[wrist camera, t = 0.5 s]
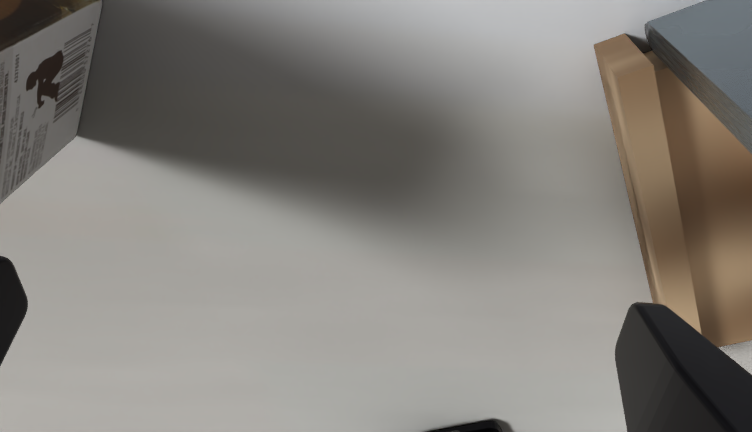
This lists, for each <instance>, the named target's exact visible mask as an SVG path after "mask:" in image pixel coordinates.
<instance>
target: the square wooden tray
mask: <svg viewBox="0 0 752 432" xmlns="http://www.w3.org/2000/svg"><path fill="white" fill-rule="evenodd" d="M594 49H595V53H596V57H597V62H598V66H599V70H600V75H601V79H602V83H603V88H604V92H605V96H606V101H607V105H608V109H609V114H610V118H611V122H612V127H613V131H614V135H615V140H616V144H617V148H618V153H619V157H620V161H621V166H622V170H623V174H624V179H625V183H626V187H627V192H628V196H629V200H630V205H631V209H632V213H633V218H634V222H635V226H636V231H637V235H638V239H639V244H640V248H641V252H642V257H643V261H644V265H645V270H646V274H647V278H648V283H649V287H650V291H651V296H652V300H653V303H656V304H663V305H665V306H667V307H668V308H670V309H671V310H672V311H673V312H675V313H676V314H677V315H678V316H679V317H681V318H682V319H683V320H684V321H686V322H687V323H688V324H689V325H691V326H692V327H693V328H694V329H696V330H697V331H698V332H699V333H700V334H702V335H703V336H704V337H705V338H707V339H708V340H709V341H710V342H712V343H713V344H714V345H715V346H717V347H721V346H726V345H731V344H735V343H740V342H745V341H750V340H752V154H751V153H750V152H749V151H748V150H747V149H746V148H745V147H744V146H743V145H742V144H741V143H740V142H739V141H738V140H737V139H736V137H735V136H734V135H733V134H732V133H731V132H730V131H729V130H728V129H727V128H726V127H725V126H724V125H723V124H722V123H721V122H720V121H719V120H718V119H717V118H716V117H715V116H714V115H713V114H712V113H711V112H710V111H709V110H708V108H707V107H706V106H705V105H704V104H703V103H702V102H701V101H700V100H699V99H698V98H697V97H696V96H695V95H694V94H693V93H692V92H691V91H690V90H689V89H688V88H687V87H686V86H685V85H684V84H683V83H682V82H681V81H680V80H679V78H678V77H677V76H676V75H675V74H674V73H673V72H672V71H671V70H670V69H669V68H668V67H667V66H666V65H665V64H664V63H663V62H662V61H661V60H660V59H659V58H658V57H657V56H656V55H655V54H654V53H653V51H649V52H647V53H644V54H643V53H642V52H641V51H640V50H639V49H638V48H637V46H636V45H635V44H634V43H633V42H632V41H631V40H630V39H629V38H628V37H627V36H626V34H622V35H619V36H617V37H614V38H611V39H608V40H606V41H603V42H600V43H597V44H595V45H594Z"/></svg>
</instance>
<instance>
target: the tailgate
mask: <svg viewBox="0 0 752 432" xmlns="http://www.w3.org/2000/svg"><path fill="white" fill-rule="evenodd" d="M645 34H646V38H647V41H648V43H649V45H650V47H651V48H652V51H653V53H654V54H655V55H656V56H657V57H658V58H659V59H660V60H661V61H662V62H663V63H664V64H665V65H666V66H667V67H668V68H669V69H670V70H671V71H672V72H673V73H674V74H675V75H676V76H677V77H678V78H679V80H680V81H681V82H682V83H683V84H684V85H685V86H686V87H687V88H688V89H689V90H690V91H691V92H692V93H693V94H694V95H695V96H696V97H697V98H698V99H699V100H700V101H701V102H702V103H703V104H704V105H705V106H706V107H707V108H708V110H709V111H710V112H711V113H712V114H713V115H714V116H715V117H716V118H717V119H718V120H719V121H720V122H721V123H722V124H723V125H724V126H725V127H726V128H727V129H728V130H729V131H730V132H731V133H732V134H733V135H734V136H735V137H736V139H737V140H738V141H739V142H740V143H741V144H742V145H743V146H744V147H745V148H746V149H747V150H748V151H749V152H750V153H751V154H752V0H706V1H703V2H701V3H698V4H695V5H692V6H690V7H687V8H684V9H682V10H679V11H676V12H673V13H671V14H668V15H665V16H662V17H660V18H657V19H654V20H652V21H649V22H647V23H646V24H645Z"/></svg>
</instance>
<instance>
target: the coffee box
mask: <svg viewBox="0 0 752 432" xmlns="http://www.w3.org/2000/svg"><path fill="white" fill-rule="evenodd" d="M101 8H102V0H0V204H1V203H2V202H3V201H4V200H5V199H6V198H7V197H8V196H9V195H10V194H12V193H13V192H14V191H15V190H16V189H17V188H19V187H20V186H21V185H22V184H23V183H24V182H25V181H26V180H27V179H29V178H30V177H31V176H32V175H33V174H34V173H35V172H36V171H37V170H38V169H40V168H41V167H42V166H43V165H44V164H46V163H47V162H48V161H49V160H50V159H51V158H52V157H53V156H54V155H56V154H57V153H58V152H59V151H60V150H61V149H62V148H64V147H65V146H66V145H67V144H68V143H69V142H71V141H72V140H73V139H74V138H75V137H76V134H77V130H78V125H79V120H80V115H81V110H82V105H83V100H84V95H85V90H86V85H87V79H88V74H89V69H90V64H91V59H92V54H93V49H94V44H95V39H96V34H97V29H98V24H99V18H100V13H101Z"/></svg>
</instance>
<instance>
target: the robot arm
mask: <svg viewBox="0 0 752 432" xmlns="http://www.w3.org/2000/svg"><path fill="white" fill-rule="evenodd" d="M27 307H28V301H27V296H26V294H25V291H24V289H23V286H22V284H21V282H20V279H19V277H18V274H17V272H16V270H15V267H14V265H13V263H12V262H11V261H10V260H9V259H8V258H6V257H3V256H0V366H1V364H2V361H3V359H4V357H5V355H6V353H7V351H8V349H9V347H10V345H11V343H12V341H13V339H14V337H15V335H16V333H17V331H18V329H19V327H20V325H21V323H22V321H23V319H24V317H25V315H26V312H27ZM615 361H616V367H617V373H618V379H619V385H620V390H621V396H622V402H623V408H624V414H625V420H626V426H627V432H752V375H751V374H750V373H749V372H747V371H746V370H745V369H744V368H742V367H741V366H740V365H739V364H737V363H736V362H735V361H734V360H733V359H731V358H730V357H729V356H728V355H726V354H725V353H724V352H723V351H721V350H720V349H719V348H718V347H717V346H715V345H714V344H713V343H712V342H710V341H709V340H708V339H707V338H705V337H704V336H703V335H702V334H700V333H699V332H698V331H697V330H696V329H694V328H693V327H692V326H691V325H689V324H688V323H687V322H686V321H684V320H683V319H682V318H681V317H679V316H678V315H677V314H676V313H675V312H673V311H672V310H671V309H670V308H668V307H667V306H665V305H663V304H656V303H642V302H636V303H634V304H632V305H631V306H630V308H629V310H628V312H627V315H626V318H625V320H624V323H623V326H622V329H621V332H620V335H619V337H618V340H617V343H616V348H615ZM434 432H502V430H501V428H500V426H499V425H498V424H497V423H496V422H493V421H486V422H481V423H476V424H470V425H465V426H460V427H455V428H449V429H444V430H439V431H434Z"/></svg>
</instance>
